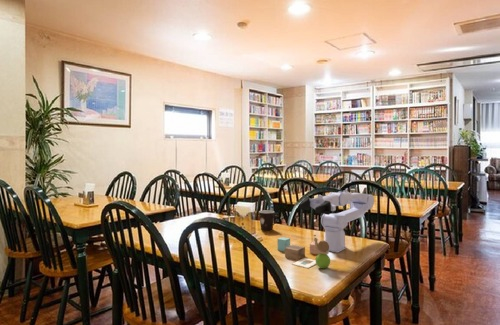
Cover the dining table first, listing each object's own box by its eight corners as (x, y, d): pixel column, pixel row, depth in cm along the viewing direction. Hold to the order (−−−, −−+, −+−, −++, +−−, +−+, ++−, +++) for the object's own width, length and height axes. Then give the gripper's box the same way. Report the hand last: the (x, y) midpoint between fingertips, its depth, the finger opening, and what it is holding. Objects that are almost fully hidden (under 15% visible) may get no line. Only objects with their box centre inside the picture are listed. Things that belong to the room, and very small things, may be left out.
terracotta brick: (312, 250, 149) (312, 241, 149) (321, 252, 148) (321, 242, 148) (309, 253, 146) (309, 244, 146) (318, 254, 144) (318, 245, 144)
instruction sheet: (304, 258, 139) (304, 257, 139) (319, 262, 134) (319, 261, 134) (292, 264, 132) (292, 263, 132) (308, 268, 127) (308, 267, 127)
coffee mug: (256, 228, 191) (256, 210, 191) (271, 227, 194) (271, 209, 193) (263, 233, 180) (263, 214, 180) (279, 232, 183) (279, 213, 182)
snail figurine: (317, 263, 132) (317, 233, 132) (332, 267, 128) (332, 235, 128) (310, 267, 128) (310, 236, 128) (326, 271, 124) (326, 238, 124)
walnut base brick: (292, 253, 146) (292, 244, 146) (304, 256, 142) (304, 247, 142) (284, 257, 141) (284, 247, 141) (297, 260, 137) (297, 250, 137)
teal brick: (282, 247, 154) (282, 236, 154) (290, 249, 152) (290, 238, 151) (277, 249, 151) (277, 238, 151) (285, 251, 148) (285, 240, 148)
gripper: (312, 190, 150) (293, 195, 141) (341, 196, 140) (323, 202, 131) (311, 206, 151) (292, 212, 141) (340, 213, 141) (323, 219, 131)
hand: (307, 208), depth 136 cm, fingers open, 7 cm apart
